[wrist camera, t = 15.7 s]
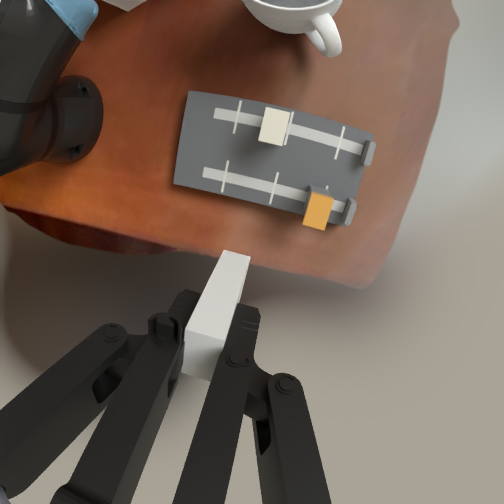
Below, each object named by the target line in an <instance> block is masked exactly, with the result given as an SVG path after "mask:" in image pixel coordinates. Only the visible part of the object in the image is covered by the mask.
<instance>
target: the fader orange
mask: <svg viewBox="0 0 504 504" xmlns="http://www.w3.org/2000/svg"><path fill="white" fill-rule="evenodd" d="M333 202H334V198H333V197H331V195H330V192H329V190H327V189H324V188H321V187H317V186H314V185H310V187H309V191H308V194H307V198H306V201H305V204H304V208H303V221H302V224H303V225H306V226H309V227H313V228H317V229H320V230H325V227H326V224H327V221H328V218H329V215H330V211H331V208H332V205H333Z"/></svg>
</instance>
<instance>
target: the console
mask: <svg viewBox="0 0 504 504" xmlns="http://www.w3.org/2000/svg"><path fill="white" fill-rule="evenodd" d="M266 107H269V108H273V109H278V110H282V111H286V112H290V117H289V121H288V125H287V129H286V133H285V137H284V141H283V145H282V146H279V145H275V144H271V143H267V142H262V141H258V139H259V135H260V130H261V126H262V122H263V117H264V113H265V109H266ZM373 138H374V134H371V133H369V132H366V131H363V130H360V129H357V128H354V127H351V126H348V125H345V124H342V123H339V122H336V121H333V120H329V119H326V118H323V117H319V116H316V115H312V114H309V113H305V112H301V111H297V110H293V109H289V108H285V107H281V106H277V105H272V104H268V103H263V102H258V101H253V100H248V99H243V98H237V97H231V96H225V95H219V94H212V93H205V92H197V91H189V92H188V97H187V102H186V107H185V112H184V118H183V123H182V129H181V135H180V141H179V147H178V153H177V160H176V167H175V174H174V182H173V184H177V185H182V186H186V187H191V188H195V189H200V190H204V191H209V192H213V193H217V194H222V195H226V196H230V197H234V198H238V199H242V200H246V201H250V202H254V203H258V204H262V205H266V206H270V207H274V208H278V209H282V210H285V211H289V212H293V213H297V214H300V215H303V208H304V204H305V201H306V198H307V194H308V191H309V187H310V185H314V186H317V187H321V188H324V189H327V190H329V192H330V195H331V197H333V198H334V202H333V205H332V208H331V211H330V215H329V218H328V221H327V222H329V223H332V224H336V225H339V226H343V227H345V226H346V225H349V226H350V224H351V222H352V219H353V216H354V213H355V210H356V207H357V203H356V201H355V197H356V194H357V191H358V188H359V185H360V182H361V178H362V175H363V172H364V169H365V166H366V165H367V166H370V164H371V161H372V158H373V154H374V151H375V147H376V144H377V143H375V142H373Z"/></svg>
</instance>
